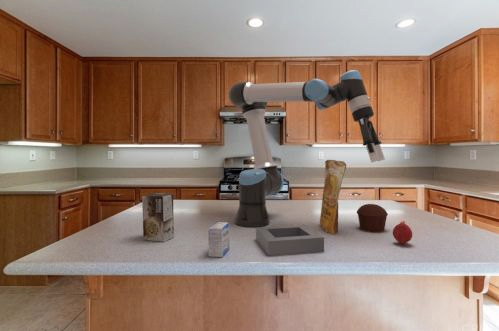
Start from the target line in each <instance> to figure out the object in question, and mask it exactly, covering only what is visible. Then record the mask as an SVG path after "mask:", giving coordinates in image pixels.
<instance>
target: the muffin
mask: <svg viewBox="0 0 499 331" xmlns="http://www.w3.org/2000/svg"><path fill="white" fill-rule="evenodd" d="M356 214H357V216H358V217H357V218H358V223H359V224H358V225H359V229H360V230H362V231H364V230H365V232H368V231H369V232H368V233H382V232H384V231H385V228H386V222H387V216H388V215H389V213H388V212H387V210H386V209H385V208H384V207H382V206H380V205H378V204H375V203H366V204H363V205H361V206H360V207H359V208H358V209H357V211H356Z"/></svg>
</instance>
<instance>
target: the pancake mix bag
mask: <svg viewBox="0 0 499 331" xmlns="http://www.w3.org/2000/svg"><path fill="white" fill-rule="evenodd" d="M324 165H325V166H324V167H325V168H324V170H325V172H324V182H323V183H324V186H323V191H322V192H323V193H322V197H321V198H322V199H321V210H320V215H319V216H320V218H319V224H320V226H321V228H322V230H324V231H325V232H326V233H328V234H333V235H336V234H338V232H339V195H340V193H341V189H342V188H341V187H342V182H343V178H344V176H345V173H346V169H347V164H346V162H345V161H342V160H336V159H326V160H325V161H324Z"/></svg>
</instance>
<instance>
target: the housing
mask: <svg viewBox="0 0 499 331" xmlns="http://www.w3.org/2000/svg"><path fill="white" fill-rule="evenodd" d="M255 241H256V242H257V243H258V245H259V246H260V247H261V249H262V250H263V251H264V252H265V254H266V255H267V256H268V257H273V256H275V257H276V256H277V257H278V256H288V255H300V254H311V253H315V254H316V253H324V252H325V237H324V236H323V235H321V234H319V233H318V232H316V231H315V230H313V229H312V228H310V227H309V226H307V225H305V224H294V225H292V224H291V225H277V226H276V225H275V226H260V227H255Z"/></svg>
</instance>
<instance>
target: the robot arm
mask: <svg viewBox="0 0 499 331" xmlns="http://www.w3.org/2000/svg"><path fill="white" fill-rule="evenodd" d="M339 80H340V82H338V83H336V84H333V85H329V84H328V83H326V81H324V80H322V79H319V78H313V79H311V80H309V81H294V82H290V81H289V82H272V83H271V82H270V83H268V82H267V83H253V82H252V81H239V82H236V83H234V84H233V85H232V86H231V87H230V89H229V91H228V100H229V102H230V103H231V104H232V105H233V106H234V107H235V108H239V109H241V112H242V117H244V118H245V119H246V122H247V128H248V133H249V137H250V138H249V139H250V143H251V149H252V154H253V159H254V164H255V166H254V168H252V169H245V170H242V171H241V172H240V173H239V177H238V178H239V179H238V183H239V184H238V189H239V191H238V193H239V196H238V198H239V199H238V201H239V203H238V209H237V211H236V215H235V219H234V221H235V224H236V225H237V226H240V227H246V228H256V227H266V226H268V225H270V223H271V222H270V220H271V219H270V215H269V212H268V210H267V209H268V208H267V206H266V205H267V203H266V202H267V200H266V198H267V197H269V196H273V195H277V194H278V193H280V191H281V190H282V189H283V187H284V183H285V182H284V181H285V180H284V177H283V174H282V173H281V172H280V171H279V169H278V165H277V164H275V163H274V160H273V155H272V151H271V146H270V140H269V136H268V130H267V127H266V121H265V116H264V115H265V114H266V110H267V108H266V107H267V105H268V103H275V102H276V103H281V102H282V103H285V102H286V103H288V102H289V103H294V102H303V103H304V102H307V103H308V102H309V103H310V102H313V103H314V104H315V106H316V107H317V109H318V110H320V111H322V110H326V109H329V108H331V107H333V106H335V105H337V104H340V103H342V102H344V101H347V104H348V107H349V110H350V112H351V116H352V119H353V121H354V122H355V123H357V122H358V124H359V129H360V132H361V137H362V142H363V143H362V146H363V147H366V150H367V153H368V156H369V160H370V163H374V162H381V161H384V160H386V159H385V155H384V152H383V149H382V146H381V144H382V141H381V140H379V136H378V135H377V132H376V130H375V128H374V124H373V122H372V120H370V118H372V117H373V116H374V115H375V113H374V110H373V108H372V106H371V102H370V100H371V97H370V96H368V93H367V90H366V87H365V84H364V80H363V78H362V75H361V73H360V71H359V70H357V69H350V70H349V71H346V72H344V73H343V74H342V75H341V76H340V77H339Z"/></svg>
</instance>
